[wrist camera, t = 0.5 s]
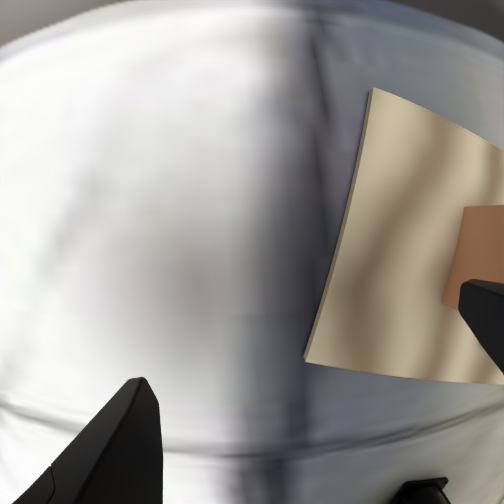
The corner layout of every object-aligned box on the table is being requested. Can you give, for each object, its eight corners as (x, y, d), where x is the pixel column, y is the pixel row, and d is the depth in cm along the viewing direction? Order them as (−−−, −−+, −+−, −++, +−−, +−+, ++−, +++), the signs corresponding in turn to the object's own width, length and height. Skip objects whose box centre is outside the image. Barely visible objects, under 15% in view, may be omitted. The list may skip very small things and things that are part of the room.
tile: (478, 213, 20) (573, 212, 10) (455, 306, 21) (544, 347, 11) (464, 206, 20) (561, 202, 10) (441, 303, 21) (531, 345, 11)
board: (548, 188, 21) (554, 188, 20) (500, 380, 22) (506, 384, 21) (369, 91, 20) (373, 86, 19) (303, 356, 22) (305, 361, 21)
